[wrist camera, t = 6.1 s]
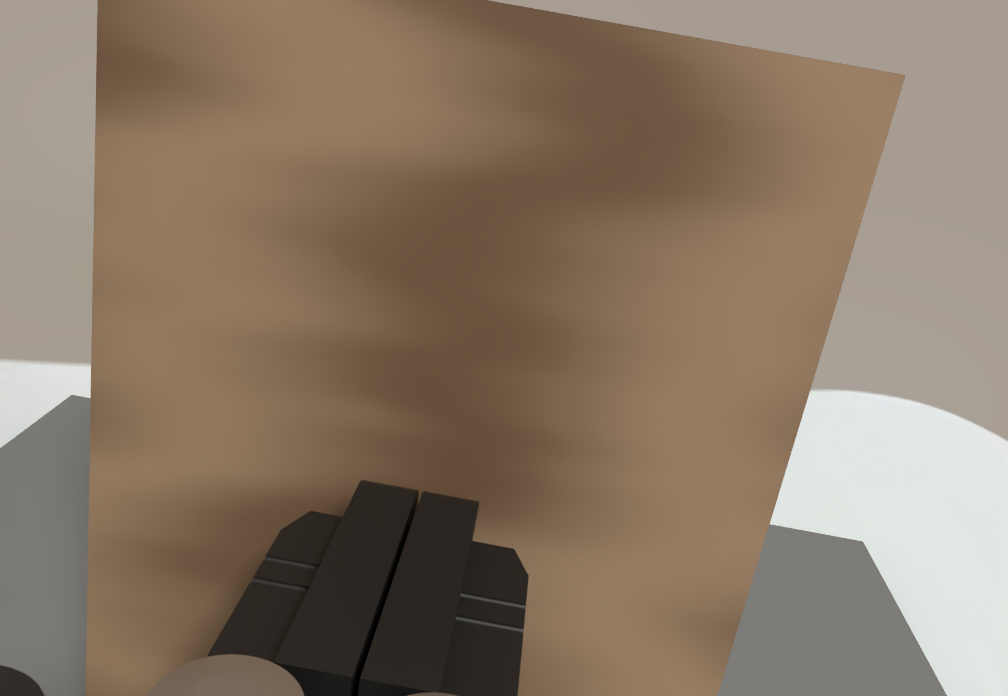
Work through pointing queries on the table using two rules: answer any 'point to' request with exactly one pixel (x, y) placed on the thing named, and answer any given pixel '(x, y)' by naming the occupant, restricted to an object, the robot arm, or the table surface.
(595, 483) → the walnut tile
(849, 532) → the table surface
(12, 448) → the charcoal mat
